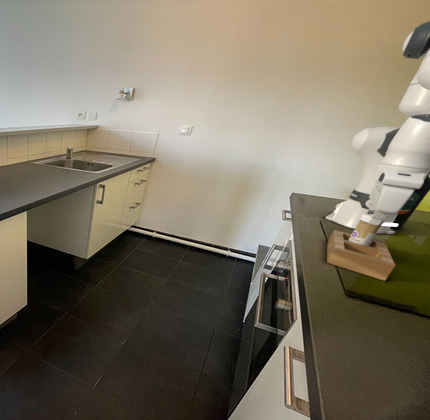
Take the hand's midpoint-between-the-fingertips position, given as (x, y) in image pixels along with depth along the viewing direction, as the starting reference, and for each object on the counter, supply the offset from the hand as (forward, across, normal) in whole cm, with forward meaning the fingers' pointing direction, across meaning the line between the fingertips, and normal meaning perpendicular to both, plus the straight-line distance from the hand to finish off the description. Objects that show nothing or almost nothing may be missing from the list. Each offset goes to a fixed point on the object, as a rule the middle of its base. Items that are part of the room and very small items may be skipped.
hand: (371, 219), depth 74 cm
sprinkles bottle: (+12, +1, 0) cm, 12 cm away
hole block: (+12, +5, 0) cm, 13 cm away
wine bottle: (+13, -50, +12) cm, 53 cm away
